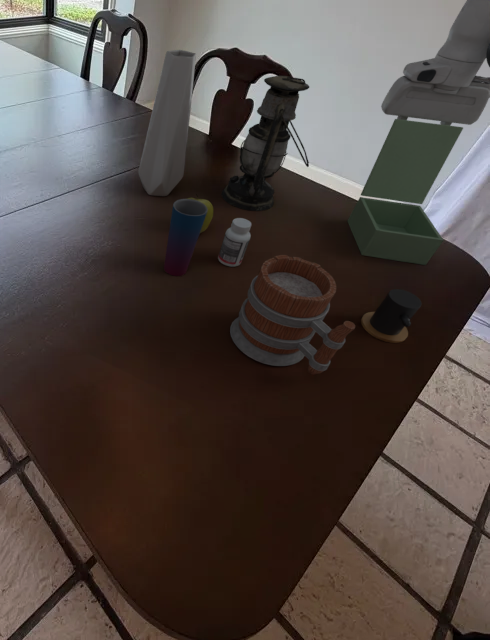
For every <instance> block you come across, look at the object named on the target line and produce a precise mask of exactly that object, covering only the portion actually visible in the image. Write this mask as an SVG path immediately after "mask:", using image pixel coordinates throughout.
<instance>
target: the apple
mask: <svg viewBox="0 0 490 640" xmlns="http://www.w3.org/2000/svg"><path fill="white" fill-rule="evenodd" d="M195 194H196V198H194V197H188V198H187V199H193V200H197V201H199V202H201V203H203V204H204V205H206V207H207V209H208V211H207V214H206V217H205V220H204V223H203V225H202V228H201V231H200V234H201V233H203V232H205V231H206V230H207V229H208V227H209V226H210V224H211V222H212V219H213V217H214V206H213V204H212V203H211V202H210V201H209V200H208V199H205V198H199V197H198V193H195Z"/></svg>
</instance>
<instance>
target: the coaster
mask: <svg viewBox="0 0 490 640" xmlns="http://www.w3.org/2000/svg"><path fill="white" fill-rule="evenodd" d="M374 313H375V311H369V312H366V313H364V314H363V315H362V317H361V319H360V324H361V326H362V328H363V329H364V330H365V331H366V333H368V334H369V335H371V336H372V337H373V338H375V339H377V340H380V341H382V342H385V343H391V344H399V343H402V342H404V341H406V340H407V338H408V337H409V331H408V327H404V328H403V329H402V330H401V332H400V333H399V334H397V335H386V334H383V333H381V332H379V331H377V330H376V329H374V328H373V327H372V325H371V324H370V318H371V317H372V316H373V314H374Z"/></svg>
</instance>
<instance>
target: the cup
mask: <svg viewBox="0 0 490 640" xmlns="http://www.w3.org/2000/svg"><path fill="white" fill-rule="evenodd" d="M207 211H208V209H207V207H206V205H204V204H203V203H201V202H199V201H197V200H193V199H188V198H180V199H176V200H175V201H174V202H173V204H172V211H171V216H170V223H169V228H168V229H169V230H168V236H167V242H166V243H167V244H166V250H165V257H164V262H163V263H164V264H163V270H164V272H165V273H167V274H168V275H170V276H174V277H181V276H184V275H186V273H187V270H188V269H189V265H190V262H191V260H192V258H193V257H192V256H193V254H194V252H195V251H194V250H195V248H196V245H197V242H198V239H199V237H200V234H201V233H200V231H201V228H202V225H203V223H204V220H205V217H206V214H207Z"/></svg>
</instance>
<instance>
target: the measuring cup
mask: <svg viewBox="0 0 490 640" xmlns="http://www.w3.org/2000/svg"><path fill="white" fill-rule="evenodd" d="M421 306H422V301H421V299H420V298H419V297H418V296H417V295H415V294H414V293H413V292H411V291H408V290H405V289H400V288H393V289H391V290H389V292H388V293H387V294H386V296H385V297H384V298H383V300H382V301H381V303H380V304H379V306H378V307H377V309H376V310H375V311H374V312H375V313H374V314H373V316H372V317H371V318H370V324H371V325H372V327H373V328H374V329H376V330H377V331H379V332H381V333H383V334H386V335H397V334H399V333H400V332H401V330H402V329H403V328H404V327H406V328H408V327H409V328H410V326H411V325H412V322H411V320H412V318H413V317H414V316H415V314H416V313H417V312H418V311H419V309H420V308H421Z"/></svg>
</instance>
